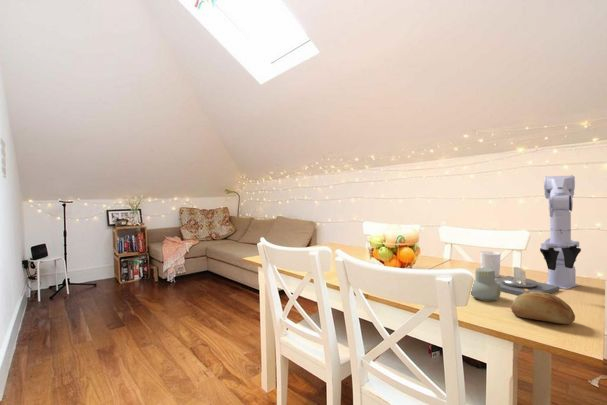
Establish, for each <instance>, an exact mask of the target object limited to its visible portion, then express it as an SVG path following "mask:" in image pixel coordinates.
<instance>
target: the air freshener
mask: <svg viewBox="0 0 607 405" xmlns="http://www.w3.org/2000/svg"><path fill="white" fill-rule="evenodd" d="M474 274H475V275H474V276H475V279H474V280H473V281H474V284H473V287H472V291H471V294H470V295H471V296H472V297H473V298H475V299H476V300H477V299H478V300H481V301H489V302H491V301H492V302H493V301H497V300H499V299H500V296H501V292H502V291H501V286H500V285H499V284H498V283H496V282H495V279H496V277H495V271H494V270H492V269H488V268H481V267H478V268H476V269H475V273H474Z"/></svg>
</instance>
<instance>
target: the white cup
mask: <svg viewBox="0 0 607 405" xmlns="http://www.w3.org/2000/svg"><path fill="white" fill-rule="evenodd" d="M501 254H502V253H500V252H499V251H492V250H491V251H490V250H489V251H488V250H486V251H483V250H482V251H480V252H479V262H480V268H488V269H492V270H494V271H495V278H500V271H501V269H500V268H501Z"/></svg>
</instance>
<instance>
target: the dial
mask: <svg viewBox="0 0 607 405" xmlns="http://www.w3.org/2000/svg"><path fill="white" fill-rule="evenodd" d="M505 277H506V278H503V277H502V278H503V279H502V282H503V284H505V285H508V286H512V287H518V288H535V287H537V282H538V281H536V280H534V279H531V278H526V271H525V270H523V269H522V268H521V267H519V266H514V267H513V276H511V277H507V276H505Z"/></svg>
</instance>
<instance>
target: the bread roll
mask: <svg viewBox="0 0 607 405" xmlns="http://www.w3.org/2000/svg"><path fill="white" fill-rule="evenodd" d="M510 309H511V313H512V314H513V315H515V316H516V317H519V318H524V319H528V320H529V319H530V320H537V321H543V322H549V323H556V324H559V325H560V324H562V325H569V324H572V323H574V322H575V319H576V315H575V313H574V310H573V309H572V307H571V306H570V305H569V304H568V303H567V302H566V301H564V300H563V299H561V298H560V297H559V296H557V295H555V294H552V293H550V294H548V293H544V292H527V293H523V294H521V295H519V296H518V295H517V296H516V297H515V299H514V300H513V302H512V303H511V305H510Z"/></svg>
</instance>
